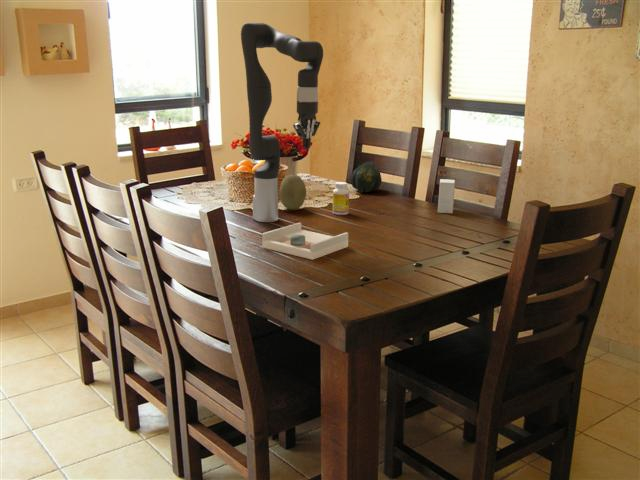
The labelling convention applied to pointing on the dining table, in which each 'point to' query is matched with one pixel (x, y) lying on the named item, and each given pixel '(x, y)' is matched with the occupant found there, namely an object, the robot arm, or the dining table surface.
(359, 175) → the squash
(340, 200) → the supplement bottle
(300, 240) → the puck
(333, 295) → the dining table surface
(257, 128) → the robot arm
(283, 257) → the dining table surface
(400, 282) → the dining table surface
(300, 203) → the fruit
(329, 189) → the dining table surface
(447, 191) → the small box
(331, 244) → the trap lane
